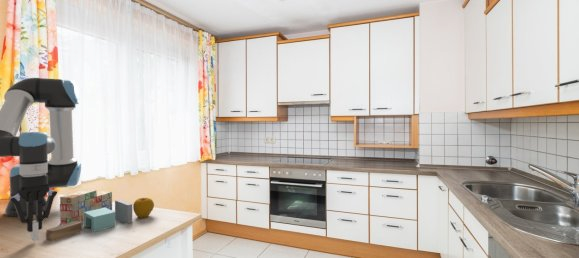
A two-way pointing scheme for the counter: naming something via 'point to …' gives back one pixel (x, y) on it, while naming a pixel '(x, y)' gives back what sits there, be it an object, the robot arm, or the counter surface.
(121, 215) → the wall
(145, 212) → the apple
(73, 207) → the stack of blocks
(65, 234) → the brown wooden bar
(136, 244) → the counter surface
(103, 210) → the block
